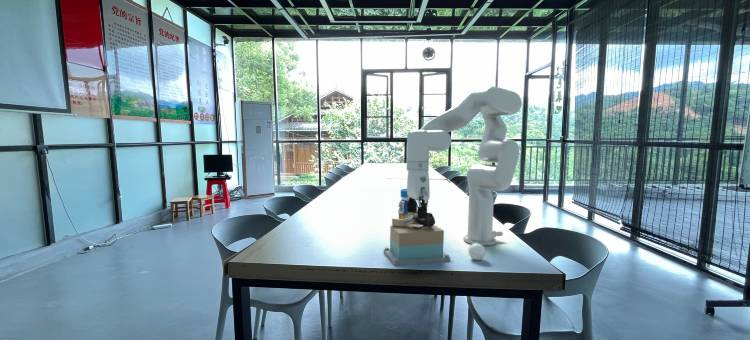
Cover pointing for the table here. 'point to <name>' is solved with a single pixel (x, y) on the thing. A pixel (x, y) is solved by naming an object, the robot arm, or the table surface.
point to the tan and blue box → (416, 245)
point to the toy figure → (415, 221)
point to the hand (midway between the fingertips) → (416, 215)
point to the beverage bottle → (405, 207)
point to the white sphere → (477, 251)
